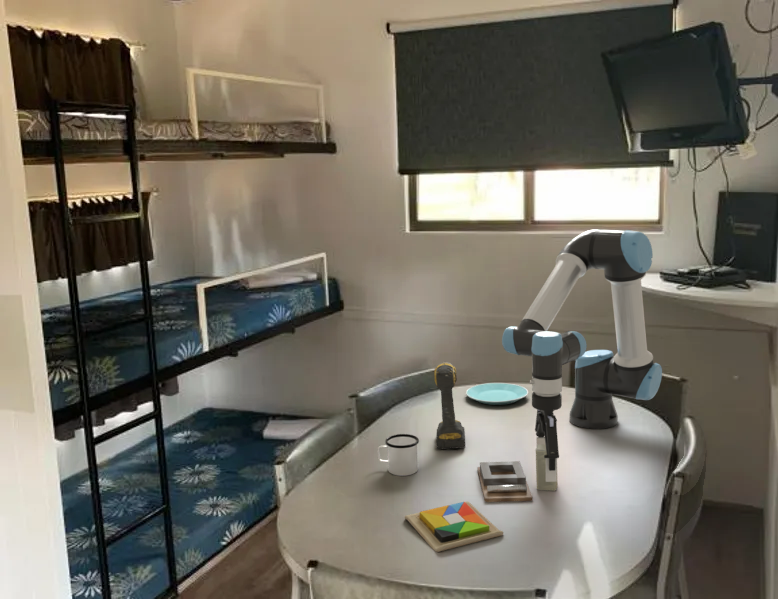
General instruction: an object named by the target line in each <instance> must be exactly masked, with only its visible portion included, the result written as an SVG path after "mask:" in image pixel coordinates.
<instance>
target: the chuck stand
mask: <svg viewBox="0 0 778 599" xmlns="http://www.w3.org/2000/svg"><path fill="white" fill-rule="evenodd" d="M477 475H478V478H479V481H480V487H481V491H482V494H483V500H484V503H498V502H499V503H500V502H501V503H502V502H504V503H505V502H533V494H532V491H531V490H530V486H529V484H528V481H527V476H526V474H525V471H524V469H523V467H522V464H521V461H520V460H518V461H516V460H515V461H486V462H485V461H483V462H479V466H478V467H477ZM489 485H527V492H497V493H488V492H487V486H489Z"/></svg>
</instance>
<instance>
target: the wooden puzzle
mask: <svg viewBox="0 0 778 599" xmlns="http://www.w3.org/2000/svg"><path fill="white" fill-rule="evenodd" d="M404 520H407V521H408V522H409V524H410V525H411V526H412V527H413V528H414V529H415V531H416V532H417V534H419V535H420V536H421V537H422V538H423V539H424V541H425V542H426V544H427V545H429V547H430V548H431V549H432V550H433V551H435V552H436V553H439V552H444V551H447V550H450V549H451V550H452V549H455V548H458V547H463V546H467V545H470V544H471V545H472V544H474V543H478V542H483V541H486V540H489V539H493V538H498V537H502V536H504V531H503V530H500V529H499V528H498V527H497V526H496V525H494V524H493V523H492V522H490V520H488V518H486V516H485V515H483V514H482V512H480V510H478V509H477V508H476V507H475V506H474V505H473V504H471V502H470V501H462V502H457V503H451V504H448V505H443V506H439V507H435V508H431V509H430V508H429V509H426V510H423V511H420V512H416V513H411V514H407V515H404Z"/></svg>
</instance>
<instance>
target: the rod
mask: <svg viewBox="0 0 778 599" xmlns="http://www.w3.org/2000/svg"><path fill="white" fill-rule="evenodd" d="M487 492H488V493H497V492H527V485H489V486H487Z"/></svg>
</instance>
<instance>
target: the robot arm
mask: <svg viewBox="0 0 778 599" xmlns="http://www.w3.org/2000/svg"><path fill="white" fill-rule="evenodd" d="M652 259H653V248H652V244H651V241H650V239H649V238H648V236H647V235H646V234H645V233H643V232H641V231H636V230H631V229H630V230H629V229H625V230H623V229H622V230H621V229H620V230H617V229H616V230H615V229H596V228H595V229H590V230H586V231H584V232H582V233H580V234H578V235H576V236H575V237H574V238H572V239H571V240H570V241H569V242H568V243H566V244H565V245H564V246H563V248H561V250H560V251H559V253H558V254H557V257H556V258H555V266H554V268H553V269H552V271H551V273H550V274H549V275H548V277H547V279H546V281H545V282H544V284H543V286H542V287H541V289H540V290H539V292H538V293H537V296H536V297H535V299H534V300H533V301H532V303H531V305H530V306H529V308H528V309H527V311H526V313H525V314H524V316H523V318H522V319H521V321H520V322H519V324H518V326H517V325H513V326H512V325H511V326H508V327H506V328H505V329H504V331H503V333H502V338H501V344H502V347H503V349H504V351H506V352H507V353H509V354H514V355H516V356H526V357H531V378H532V379H530V380H529V384H530V385H532V386H531V390H532V393H531V407H532V408H533V409H535V410H536V419H535V427H534V432H535V435H536V443H535V444H536V448H537V445H538V444H543V445H546V453H547V455H544V458H546V482H558V459H559V458H560V453H559V441H558V428H557V427H558V426H557V425H558V424H557V422H558V420H557V417H556V415H555V414H554V411H557V410H560V409H561V407H562V402H563V401H562V400H563V398H562V393H561V392H562V391H563V365H566V364H568V363H570V362H573V361H575V364H574V369H575V370H574V373H575V374H574V377H575V378H574V387H575V388H574V392H575V394H574V395H575V396H574V399H573V401H572V405H571V408H570V411H569V418H568V419H569V422H570V423H571V424H573V425H575V426H577V427H580V428H584V429H585V428H586V429H593V430H595V429H597V430H598V429H599V430H601V429H609V428H612V427H615V426H616V425H617V424H618V423H619V422H618V418H619V416H618V412H617V409H616V407H615V403H614V400H613V395H615V396H618V397H619V396H621V397H626V398H631V399H636V400H643V401H650V400H651V399H653V398H654V397H655V396H656V394H657V393H658V391H659V389H660V385H661V382H662V377H663V369H662V368H663V367H662V366H661V364H659V363H657V362H654V354H653V353H652V352H650V351H649V350H648V344H647V335H646V333H647V332H646V331H647V330H646V323H645V311H644V310H645V309H644V301H643V288H642V287H643V286H642V280H643V279H644V278H645V277H646V274H647V272H648V271H649V270H650V269H651V267H652V263H653V260H652ZM594 269H595V270H603V273H604V279H605V280H606V281H607V282H609V283H610V288H611V297H612V298H611V299H612V308H613V309H612V310H613V317H614V318H613V319H614V327H615V328H614V329H615V337H616V346H617V347H616V348H617V352H616V353H615V355H614V353H613V351H612V350H610V349H609V350H608V349H591V350H587V341H586V339H585V337H584V336H583V334H582V333H580V332H579V331H576V330H575V331H574V330H570V331H569V330H568V331H566V332H557V331H548V330H549V328H550V327H551V325H552V324H553V322H554V320H555V318H556V317H557V314H558V313H559V312H560V310H561V309H562V307H563V305H564V303H565V301H566V300H567V299H568V297H569V295H570V294H571V292H572V290H573V288H574V287H575V285H576V284H577V282H578V281H579V280H578V279H579V278H582V277H584V276H585V274H586V273H587V272H588V271H589V270H594ZM586 350H587V351H586ZM536 448H535V449H536Z"/></svg>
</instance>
